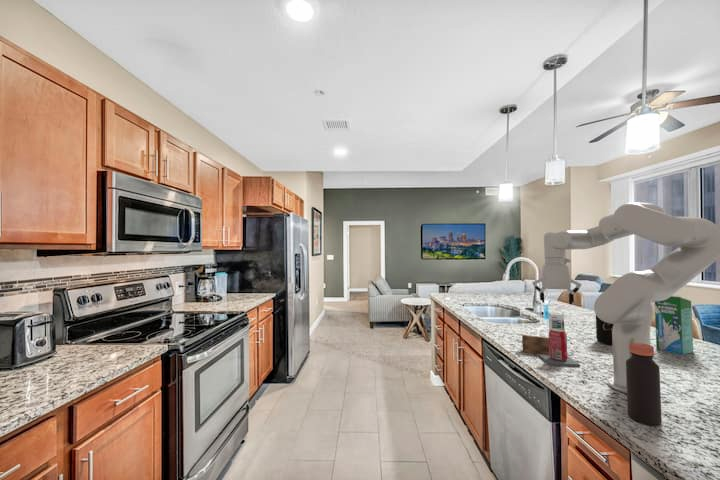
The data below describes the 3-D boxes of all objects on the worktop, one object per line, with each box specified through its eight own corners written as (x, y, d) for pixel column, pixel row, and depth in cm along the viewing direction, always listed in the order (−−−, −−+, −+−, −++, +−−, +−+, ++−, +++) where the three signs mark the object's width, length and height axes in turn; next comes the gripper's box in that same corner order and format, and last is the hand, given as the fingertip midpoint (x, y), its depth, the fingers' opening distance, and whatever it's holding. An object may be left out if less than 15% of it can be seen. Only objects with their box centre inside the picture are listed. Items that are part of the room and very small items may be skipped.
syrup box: (551, 343, 152) (550, 313, 153) (549, 340, 158) (548, 311, 158) (565, 344, 150) (564, 314, 150) (562, 341, 155) (561, 312, 156)
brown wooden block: (558, 353, 138) (557, 337, 138) (559, 356, 133) (558, 340, 133) (522, 348, 144) (522, 333, 145) (522, 352, 140) (522, 336, 140)
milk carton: (693, 352, 138) (691, 295, 138) (682, 354, 134) (680, 296, 135) (667, 346, 146) (665, 293, 147) (656, 348, 143) (654, 294, 143)
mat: (580, 367, 122) (579, 364, 122) (549, 365, 123) (549, 363, 123) (565, 357, 133) (565, 355, 133) (538, 356, 134) (538, 353, 134)
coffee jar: (602, 345, 149) (601, 307, 149) (592, 339, 159) (591, 303, 159) (629, 347, 145) (627, 308, 146) (617, 340, 156) (616, 304, 156)
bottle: (639, 425, 81) (636, 348, 82) (621, 412, 88) (619, 341, 89) (668, 427, 80) (665, 349, 81) (648, 413, 87) (646, 342, 88)
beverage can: (562, 356, 131) (561, 327, 131) (570, 361, 124) (569, 331, 125) (546, 356, 131) (545, 327, 132) (554, 361, 125) (553, 331, 125)
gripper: (579, 261, 128) (580, 303, 128) (531, 261, 137) (532, 300, 136) (581, 262, 122) (583, 306, 121) (531, 262, 130) (532, 303, 129)
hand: (556, 303), depth 129 cm, fingers open, 9 cm apart
